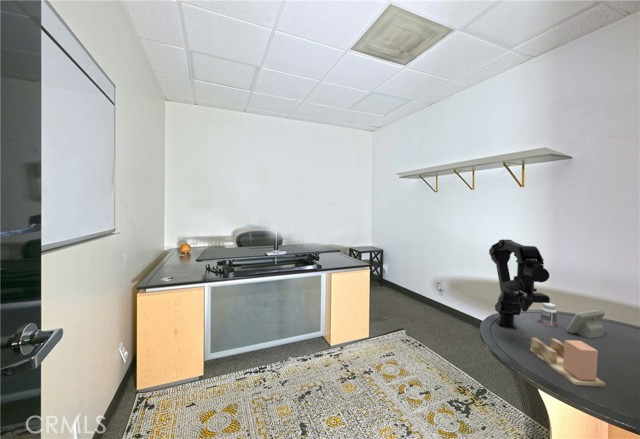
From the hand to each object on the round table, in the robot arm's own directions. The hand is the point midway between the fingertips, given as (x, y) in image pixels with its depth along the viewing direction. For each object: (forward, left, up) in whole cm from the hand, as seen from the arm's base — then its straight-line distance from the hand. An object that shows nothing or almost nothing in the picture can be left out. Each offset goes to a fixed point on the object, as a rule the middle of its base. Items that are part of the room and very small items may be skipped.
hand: (524, 311), depth 106 cm
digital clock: (-23, +26, -13) cm, 37 cm away
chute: (+15, +9, -13) cm, 22 cm away
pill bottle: (-26, +14, -13) cm, 32 cm away
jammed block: (+20, +12, -12) cm, 26 cm away
